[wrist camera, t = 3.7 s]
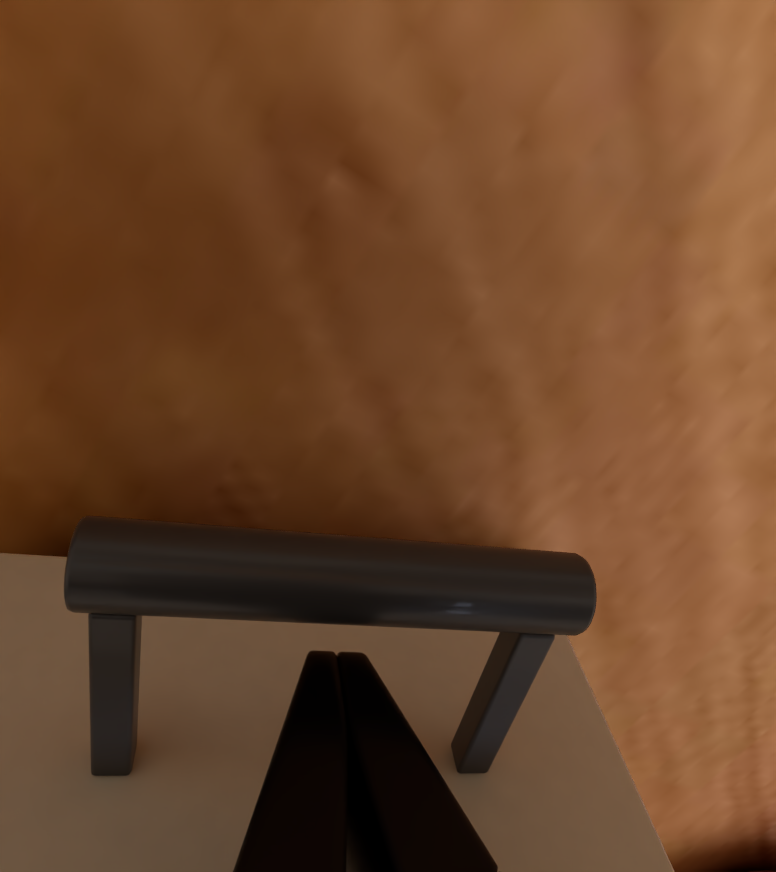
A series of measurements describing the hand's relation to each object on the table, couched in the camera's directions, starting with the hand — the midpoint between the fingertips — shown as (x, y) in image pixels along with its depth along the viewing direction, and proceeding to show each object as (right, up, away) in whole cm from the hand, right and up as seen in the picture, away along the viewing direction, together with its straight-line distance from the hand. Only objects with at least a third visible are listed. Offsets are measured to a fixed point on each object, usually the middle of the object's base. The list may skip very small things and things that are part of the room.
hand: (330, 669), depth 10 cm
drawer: (-2, -3, +8) cm, 9 cm away
